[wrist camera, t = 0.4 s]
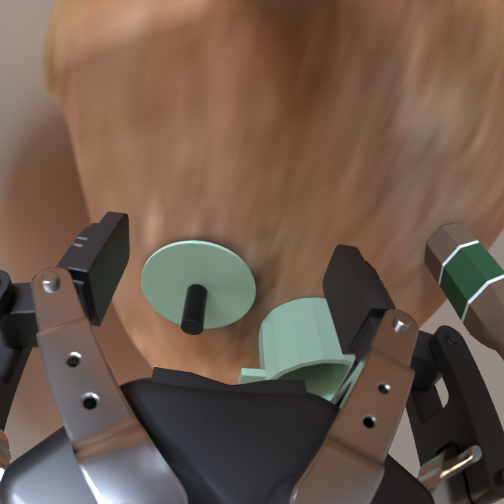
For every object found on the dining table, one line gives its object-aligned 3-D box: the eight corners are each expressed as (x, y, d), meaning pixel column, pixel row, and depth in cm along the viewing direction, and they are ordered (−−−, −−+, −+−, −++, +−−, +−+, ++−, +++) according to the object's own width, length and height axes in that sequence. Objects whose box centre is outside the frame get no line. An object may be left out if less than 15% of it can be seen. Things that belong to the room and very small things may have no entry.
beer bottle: (428, 278, 36) (505, 430, 17) (415, 240, 33) (516, 415, 13) (471, 250, 34) (561, 387, 14) (463, 209, 30) (582, 360, 11)
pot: (248, 289, 36) (250, 355, 29) (378, 302, 39) (401, 358, 31) (233, 350, 43) (232, 407, 36) (343, 356, 46) (356, 406, 38)
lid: (141, 229, 31) (122, 268, 25) (266, 246, 33) (271, 288, 27) (145, 315, 39) (135, 354, 33) (245, 328, 40) (245, 368, 35)
